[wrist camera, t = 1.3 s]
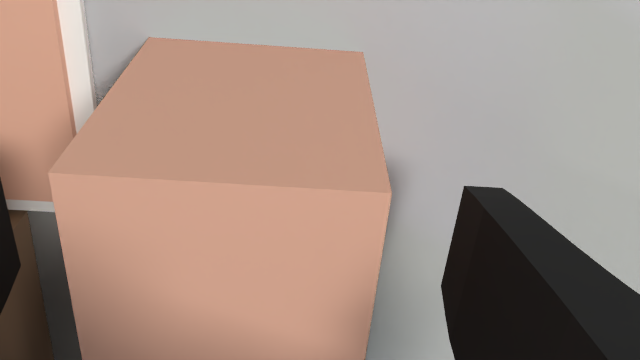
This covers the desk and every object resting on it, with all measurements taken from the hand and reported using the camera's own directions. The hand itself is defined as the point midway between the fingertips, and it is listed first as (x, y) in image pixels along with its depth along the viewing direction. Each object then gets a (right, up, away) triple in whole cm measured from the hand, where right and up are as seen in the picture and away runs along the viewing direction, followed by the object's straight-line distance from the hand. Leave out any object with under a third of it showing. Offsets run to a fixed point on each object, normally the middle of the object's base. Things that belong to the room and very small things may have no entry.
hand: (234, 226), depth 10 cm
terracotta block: (0, +2, +3) cm, 3 cm away
